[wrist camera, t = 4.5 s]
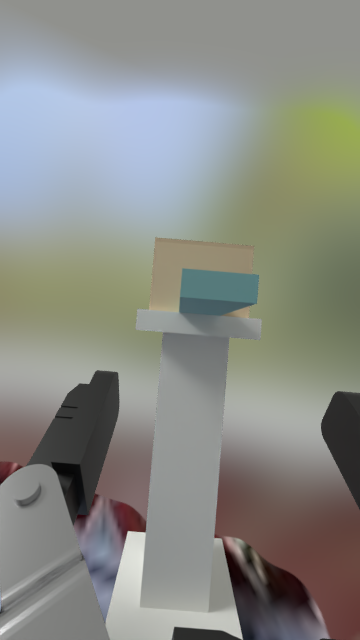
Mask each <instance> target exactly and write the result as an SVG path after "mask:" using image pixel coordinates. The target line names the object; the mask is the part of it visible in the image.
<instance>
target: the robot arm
mask: <svg viewBox="0 0 360 640" xmlns="http://www.w3.org/2000/svg"><path fill="white" fill-rule="evenodd" d="M118 412H119V380H118V373H117V372H110V371H98V370H97V371H96V372H95V374H94V376H93V378H92V380H91V382H90V384H79V385H78V386H77V387H75V388H74V389H73V390H72V391H70V392H69V393H68V394H67V396H66V398H65V400H64V401H63V403H62V405H61V408H59V410H58V412H57V414H56V416H55V419H53V421H52V423H51V424H50V426H49V428H48V430H47V431H46V433H45V435H44V437H43V438H42V440H41V442H40V444H39V445H38V447H37V449H36V451H35V452H34V454H33V456H32V458H31V459H30V461H29V463H28V464H27V465H26V466H25V467H23V468H21V469H19V470H17V471H16V472H14V473H13V474H11V475H10V476H9V477H8V478H7V479H6V480H5V481H4V482H3V483H2V484H1V485H0V590H1V611H0V640H110V638H109V635H108V632H107V629H106V626H105V622H104V619H103V616H102V613H101V610H100V606H99V603H98V600H97V597H96V594H95V590H94V587H93V584H92V581H91V578H90V574H89V571H88V568H87V565H86V562H85V560H84V557H83V555H82V553H81V550H80V547H79V544H78V541H77V537H76V534H75V531H74V528H73V525H74V522H75V519H76V517H77V514H82V515H88V513H89V510H90V507H91V503H92V500H93V497H94V494H95V490H96V487H97V484H98V481H99V477H100V474H101V471H102V467H103V464H104V461H105V458H106V454H107V451H108V447H109V444H110V441H111V438H112V435H113V431H114V428H115V425H116V421H117V418H118ZM321 431H322V435H323V438H324V440H325V442H326V444H327V446H328V448H329V450H330V452H331V454H332V456H333V458H334V460H335V462H336V464H337V466H338V468H339V469H340V472H341V474H342V476H343V478H344V479H345V482H346V483H347V486H348V487H349V489H350V491H351V493H352V495H353V497H354V499H355V501H356V503H357V505H358V507H359V509H360V393H352V392H340V391H338V392H336V393H335V394H334V395H333V397H332V400H331V402H330V404H329V406H328V409H327V410H326V413H325V415H324V417H323V419H322V423H321ZM172 640H242V639H240V638H238V637H235V636H233V635H231V634H229V633H227V632H225V631H222V630H210V629H197V628H185V627H174V630H173V635H172ZM320 640H334V639H320Z"/></svg>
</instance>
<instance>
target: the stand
mask: <svg viewBox="0 0 360 640" xmlns="http://www.w3.org/2000/svg"><path fill="white" fill-rule="evenodd" d="M261 322H262V319H253V318H241V317H229V316H217V315H205V314H193V313H182V312H170V311H158V310H146V309H137V320H136V330H147V331H159V332H163V339H162V350H161V351H162V352H161V363H160V375H159V386H158V397H157V408H156V420H155V432H154V444H153V455H152V467H151V478H150V490H149V491H150V492H149V502H148V513H147V525H146V533H143V532H130V531H128V534H127V538H126V542H125V546H124V550H123V554H122V558H121V562H120V566H119V570H118V574H117V578H116V582H115V586H114V590H113V594H112V598H111V603H110V607H109V611H108V615H107V619H106V623H105V626H106V629H107V632H108V635H109V638H110V640H172V635H173V630H174V627H185V628H197V629H210V630H222V631H225V632H227V633H229V634H231V635H233V636H235V637H238V638H240V639H242V640H243V638H242V633H241V628H240V623H239V619H238V614H237V609H236V604H235V600H234V595H233V590H232V585H231V581H230V576H229V571H228V566H227V562H226V557H225V552H224V547H223V543H222V539H218V538H214V531H215V519H216V506H217V491H218V479H219V466H220V452H221V440H222V427H223V414H224V401H225V388H226V373H227V362H228V348H229V337H231V338H243V339H255V340H260V336H261Z"/></svg>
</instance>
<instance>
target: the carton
mask: <svg viewBox="0 0 360 640" xmlns="http://www.w3.org/2000/svg"><path fill="white" fill-rule="evenodd" d="M253 254H254V246H248V245H236V244H226V243H213V242H202V241H191V240H179V239H166V238H155V248H154V260H153V271H152V282H151V283H152V284H151V294H150V305H149V310H158V311H170V312H182V313H193V314H205V315H217V316H229V317H241V318H249V308H250V306H251V305H254V304H257V295H258V282H259V275H255V274H252V267H253Z"/></svg>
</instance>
